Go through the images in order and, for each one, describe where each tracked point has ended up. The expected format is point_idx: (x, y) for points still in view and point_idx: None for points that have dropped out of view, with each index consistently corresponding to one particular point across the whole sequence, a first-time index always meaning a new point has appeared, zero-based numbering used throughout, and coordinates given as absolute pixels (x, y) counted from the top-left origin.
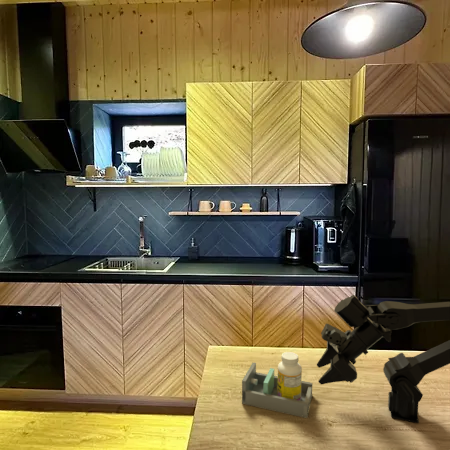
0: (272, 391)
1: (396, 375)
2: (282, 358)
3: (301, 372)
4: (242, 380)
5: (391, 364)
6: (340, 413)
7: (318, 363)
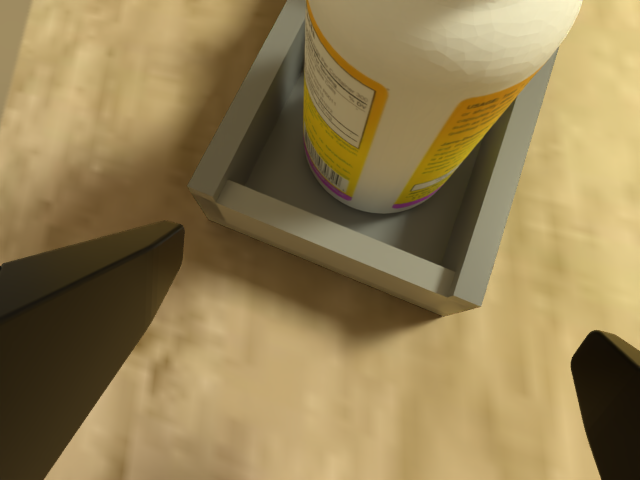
0: None
1: None
2: None
3: (387, 90)
4: None
5: None
6: (237, 456)
7: (612, 353)
